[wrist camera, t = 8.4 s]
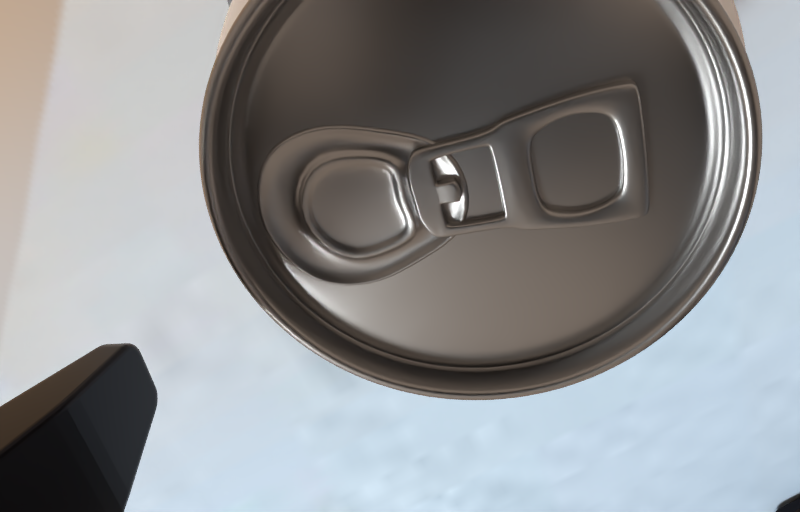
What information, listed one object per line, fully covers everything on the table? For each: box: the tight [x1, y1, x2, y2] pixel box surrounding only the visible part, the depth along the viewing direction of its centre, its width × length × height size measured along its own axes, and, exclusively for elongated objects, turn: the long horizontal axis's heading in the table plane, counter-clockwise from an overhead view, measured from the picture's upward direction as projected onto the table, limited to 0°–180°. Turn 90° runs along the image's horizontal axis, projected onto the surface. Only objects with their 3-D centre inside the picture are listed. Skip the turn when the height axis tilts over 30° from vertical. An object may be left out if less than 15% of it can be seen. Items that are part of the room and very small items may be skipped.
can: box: [199, 0, 762, 400], centre depth 12 cm, size 6×6×12 cm
